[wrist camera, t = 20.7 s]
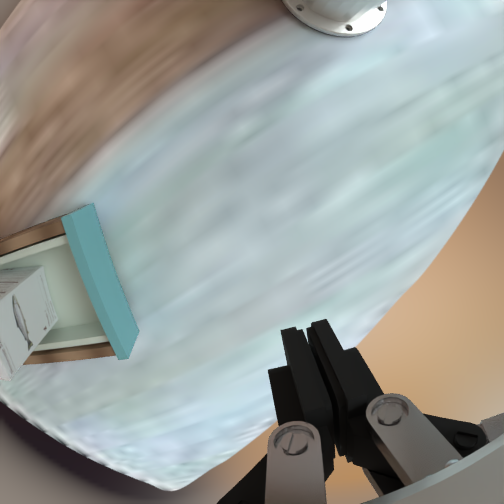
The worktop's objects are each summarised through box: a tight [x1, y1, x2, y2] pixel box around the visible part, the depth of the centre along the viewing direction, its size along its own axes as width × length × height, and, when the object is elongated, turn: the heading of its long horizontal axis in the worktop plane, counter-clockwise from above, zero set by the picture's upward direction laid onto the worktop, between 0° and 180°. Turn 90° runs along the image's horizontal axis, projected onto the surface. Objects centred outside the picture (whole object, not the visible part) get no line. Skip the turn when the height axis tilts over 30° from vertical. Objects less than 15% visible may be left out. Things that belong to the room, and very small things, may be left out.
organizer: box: [0, 214, 116, 365], centre depth 30 cm, size 19×15×6 cm
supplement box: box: [0, 266, 58, 381], centre depth 25 cm, size 7×7×13 cm
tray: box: [0, 203, 139, 360], centre depth 30 cm, size 19×16×5 cm
